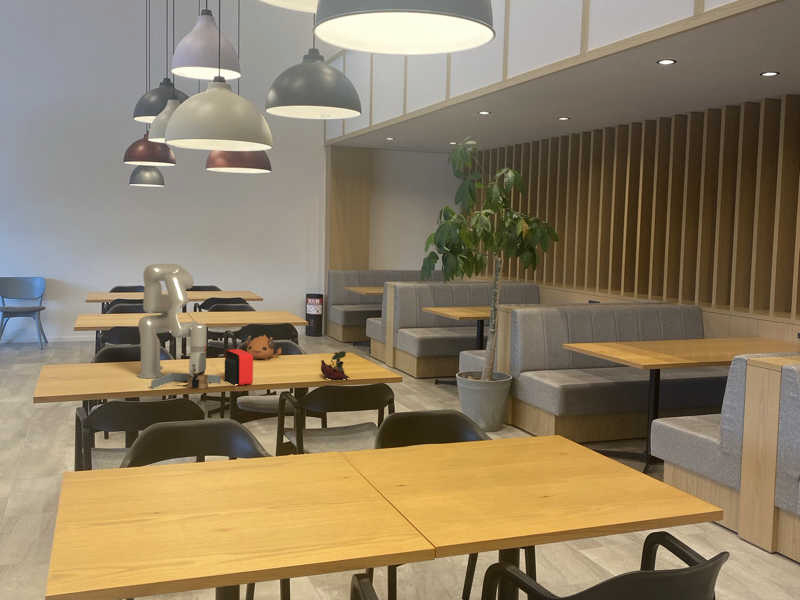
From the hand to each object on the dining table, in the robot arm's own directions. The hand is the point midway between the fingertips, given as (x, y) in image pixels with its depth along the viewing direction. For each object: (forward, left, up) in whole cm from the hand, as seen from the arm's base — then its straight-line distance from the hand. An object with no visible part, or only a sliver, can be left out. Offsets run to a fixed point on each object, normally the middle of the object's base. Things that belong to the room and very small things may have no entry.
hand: (198, 385), depth 372 cm
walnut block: (0, 0, -1) cm, 1 cm away
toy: (-84, +2, -1) cm, 84 cm away
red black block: (-17, +13, -1) cm, 22 cm away
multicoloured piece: (-41, +58, -1) cm, 71 cm away
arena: (-3, -7, -1) cm, 7 cm away
